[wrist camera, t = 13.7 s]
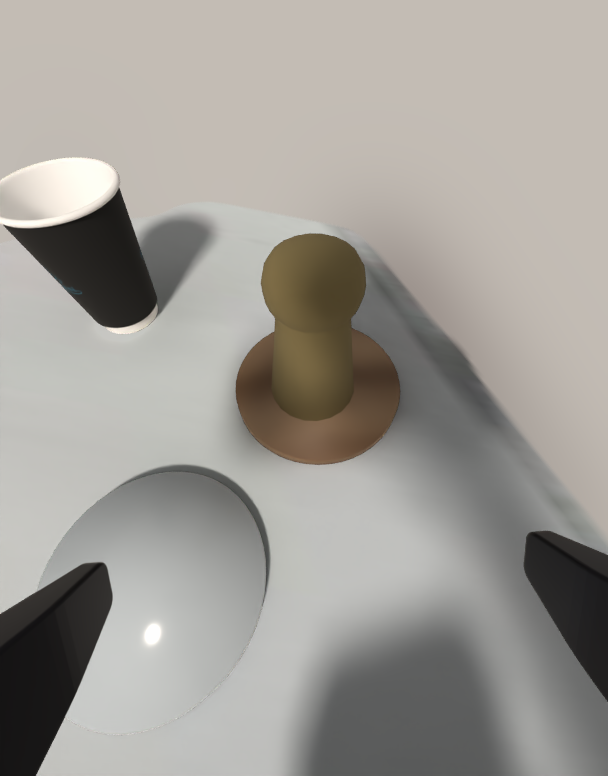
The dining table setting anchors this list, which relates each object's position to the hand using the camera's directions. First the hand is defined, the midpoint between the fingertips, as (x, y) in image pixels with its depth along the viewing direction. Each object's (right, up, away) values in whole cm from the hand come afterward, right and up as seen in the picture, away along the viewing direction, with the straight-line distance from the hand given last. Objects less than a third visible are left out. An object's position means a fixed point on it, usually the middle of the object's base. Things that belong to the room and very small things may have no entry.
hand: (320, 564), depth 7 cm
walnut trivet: (+1, +4, +19) cm, 19 cm away
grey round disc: (-8, -7, +12) cm, 16 cm away
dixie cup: (-16, +10, +23) cm, 30 cm away
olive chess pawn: (0, +4, +18) cm, 18 cm away
